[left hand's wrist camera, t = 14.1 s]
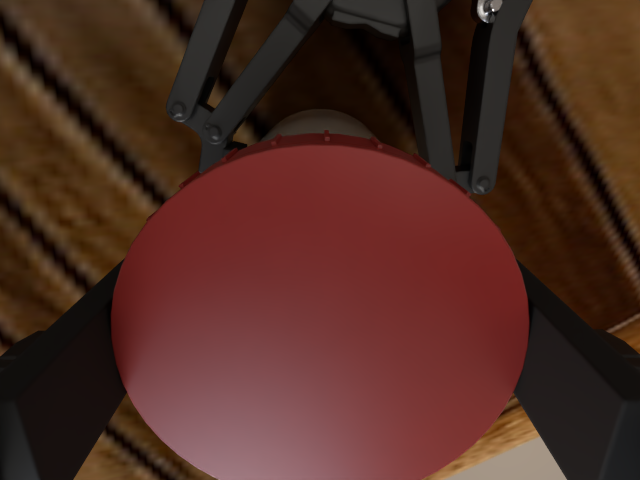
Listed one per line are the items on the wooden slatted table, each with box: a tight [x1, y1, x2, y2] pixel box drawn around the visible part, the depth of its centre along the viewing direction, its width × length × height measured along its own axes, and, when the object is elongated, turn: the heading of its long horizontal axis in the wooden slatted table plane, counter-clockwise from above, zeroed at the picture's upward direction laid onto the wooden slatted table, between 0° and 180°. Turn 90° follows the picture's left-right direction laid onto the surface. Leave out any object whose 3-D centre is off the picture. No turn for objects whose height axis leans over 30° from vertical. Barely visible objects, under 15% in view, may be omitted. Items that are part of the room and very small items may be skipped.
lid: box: [111, 130, 530, 480], centre depth 11 cm, size 10×10×2 cm
